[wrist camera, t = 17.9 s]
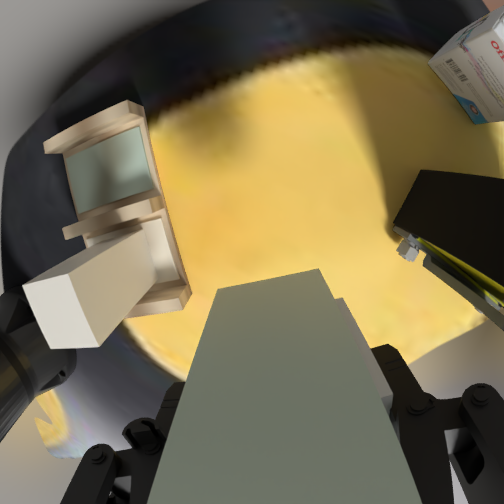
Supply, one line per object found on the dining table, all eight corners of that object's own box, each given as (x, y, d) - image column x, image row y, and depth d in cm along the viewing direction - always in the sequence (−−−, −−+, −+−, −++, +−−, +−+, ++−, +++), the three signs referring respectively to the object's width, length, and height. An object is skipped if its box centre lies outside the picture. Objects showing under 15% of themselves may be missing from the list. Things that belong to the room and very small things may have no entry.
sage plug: (242, 367, 16) (219, 578, 4) (217, 288, 14) (136, 538, 3) (330, 351, 15) (386, 559, 4) (318, 268, 14) (425, 515, 2)
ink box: (501, 87, 20) (568, 76, 9) (474, 126, 22) (551, 121, 11) (457, 29, 19) (517, -4, 8) (424, 62, 21) (492, 26, 10)
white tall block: (117, 286, 28) (50, 348, 17) (101, 240, 27) (22, 285, 15) (158, 278, 28) (99, 346, 16) (143, 229, 26) (68, 273, 15)
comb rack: (111, 306, 30) (96, 322, 26) (64, 142, 25) (43, 142, 21) (192, 293, 29) (182, 310, 25) (143, 106, 24) (127, 99, 20)
